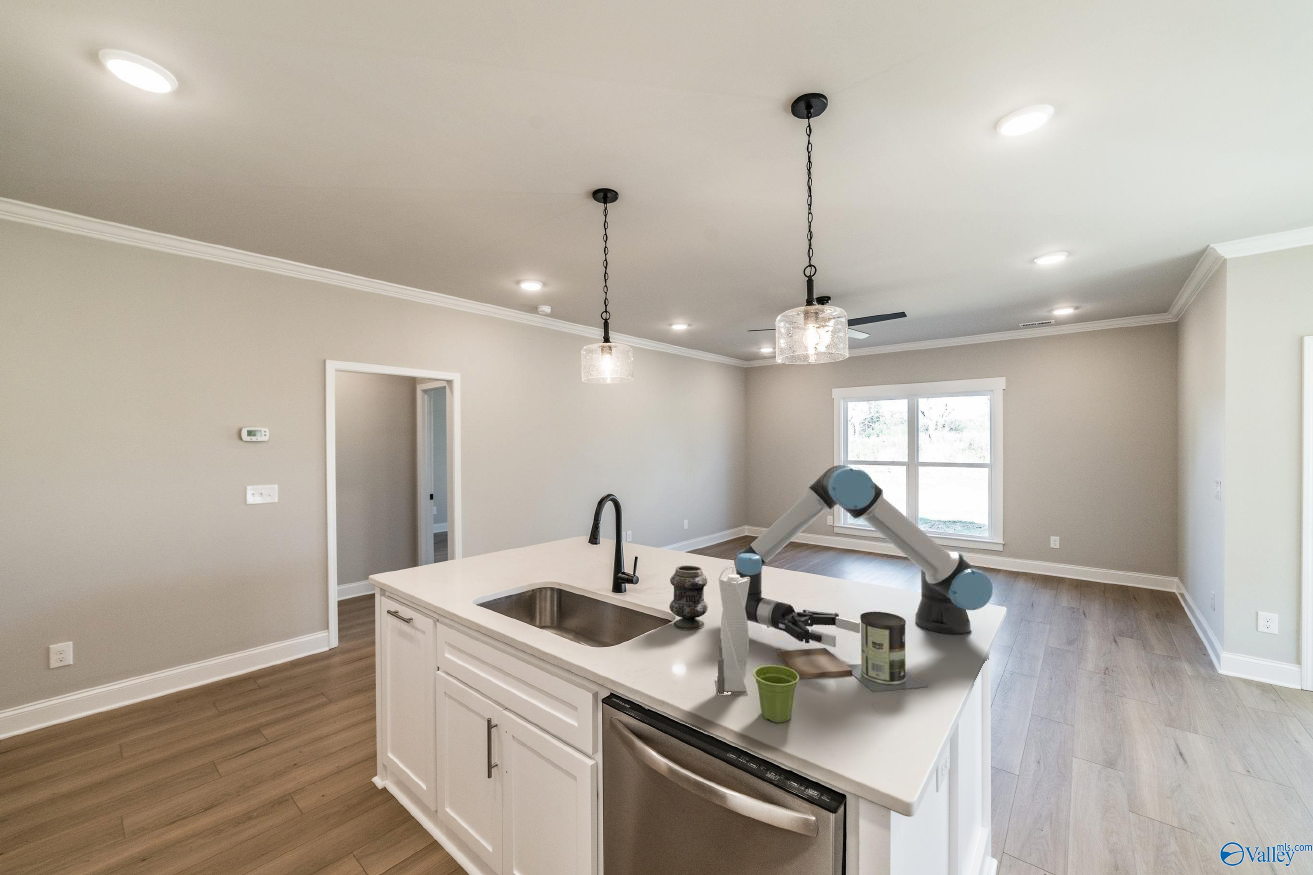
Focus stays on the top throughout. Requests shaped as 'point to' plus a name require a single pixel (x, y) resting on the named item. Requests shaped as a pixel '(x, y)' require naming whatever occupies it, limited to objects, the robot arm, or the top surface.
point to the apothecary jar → (688, 597)
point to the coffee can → (883, 647)
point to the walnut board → (814, 663)
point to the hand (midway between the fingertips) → (847, 634)
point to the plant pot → (776, 691)
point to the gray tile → (876, 687)
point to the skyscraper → (733, 635)
